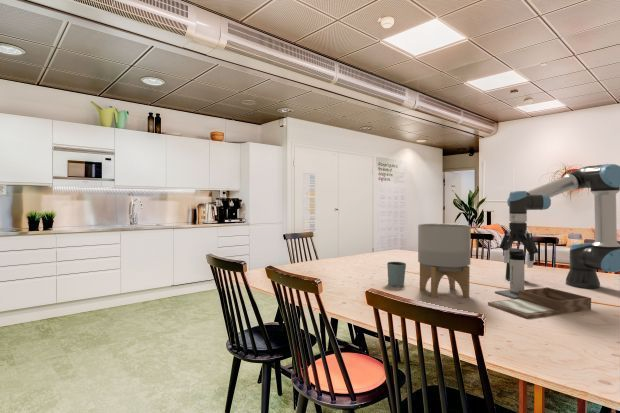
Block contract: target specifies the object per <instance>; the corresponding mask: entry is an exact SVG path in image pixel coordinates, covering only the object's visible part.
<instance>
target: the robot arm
mask: <svg viewBox="0 0 620 413" xmlns="http://www.w3.org/2000/svg"><path fill="white" fill-rule="evenodd" d="M580 189H590V192H591V193H592V194H593V195H594V196H593V197H594V199H593V200H594V242H592V243H589V242H588V243H587V242H586V243H572V244H571V245H570V246H569V271H568V272H567V275H566V277H565V285H568V286H571V287H575V288H583V289H599V288H601V282H600V279H599V276H598V274H597V270H599V271H603V272H606V273H618V272H620V243H618V242H617V241H618V240H617V239H618V238H617V235H618V233H617V194H618V193H619V192H620V165H619V164H616V163H615V164H614V163H611V164H610V163H605V164H596V165H588V166H584V167H581V168H578V169H575V170H572V171H571V172H568V173H565V174H564V175H563V176H562V177H560V178H558V179H556V180H552V181H551V182H547V183H545V184H542V185H540V186H537V187H534V188H531V189H530V190H527V191H526V190H512V191H510V192H509V195H508V198H507V199H506V202H507V206H508V207H509V209H508V210H509V213H508V214H509V217H508V218H509V219H508V220H509V223H508V224H509V225H508V226H509V228H508V229H509V230H505V231H504V235H503V237H502V240H501V243H500V244H499V249H502V255H503V256H502V257H503V263H504V264H507V263H509V250H508V248H511V246H512V245H513V243H514V242H520V243H522V245H523V246H524V248H525V250H526V251H527V255H526V258H527V266H526V267H527V268H534V261H535V254H538V253H539V250H538V247H537V245H536V242H535V240H534V238H533V233H532V232H527V229H528V225H527V222H528V220H527V219H528V216H527V215H528V214H527V213H528V211H543V210H544V211H545V210H548V209H549V208H550V207H551V204H552V200H551V198H553V197H555V196H558V195H561V194H564V193H566V192H569V191H573V192H574V191H576V190H580Z"/></svg>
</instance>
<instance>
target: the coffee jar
mask: <svg viewBox="0 0 620 413" xmlns="http://www.w3.org/2000/svg"><path fill="white" fill-rule="evenodd" d="M508 250H509V263H506V266H505V267H506V268H505V276H504V277H505V279H506V280H507V281H510V253H512V252H518V253H523V254H524V255H525V251H524V249H523V248H516V247H509V248H508Z"/></svg>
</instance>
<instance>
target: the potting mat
mask: <svg viewBox="0 0 620 413" xmlns="http://www.w3.org/2000/svg"><path fill="white" fill-rule="evenodd" d="M494 294H497V295H500V296H504V297H506V298H510V299H519V294H513V293H511V292H510V289H504V290H496V291H494Z"/></svg>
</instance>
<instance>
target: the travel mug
mask: <svg viewBox="0 0 620 413" xmlns="http://www.w3.org/2000/svg"><path fill="white" fill-rule="evenodd" d="M509 290H510V292H511V293H513V294H519V290H525V253H524V254H523V253H518V252H512V253H510V280H509Z"/></svg>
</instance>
